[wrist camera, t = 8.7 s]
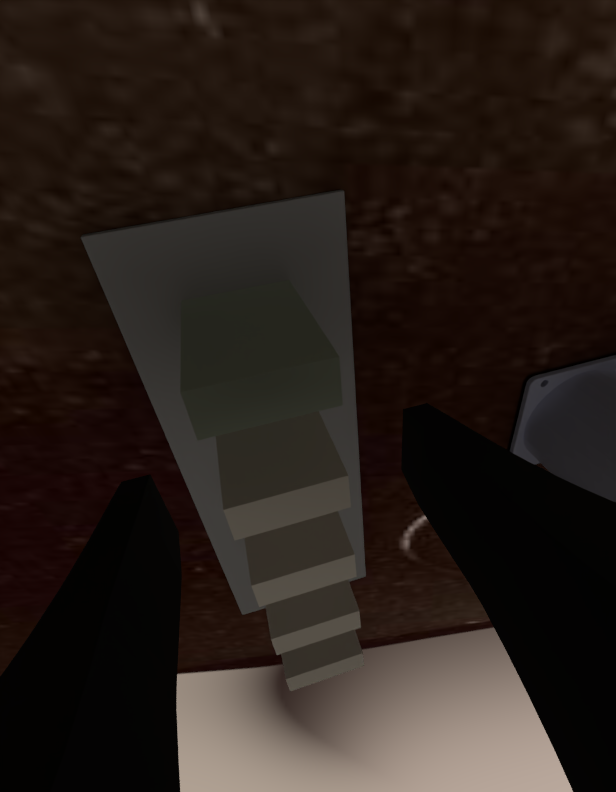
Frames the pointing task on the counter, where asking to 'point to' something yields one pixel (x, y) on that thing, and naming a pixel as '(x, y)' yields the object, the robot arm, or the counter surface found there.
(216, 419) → the domino
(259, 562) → the domino
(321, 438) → the domino
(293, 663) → the domino
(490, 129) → the counter surface
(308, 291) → the mat
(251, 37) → the counter surface
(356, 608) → the domino
